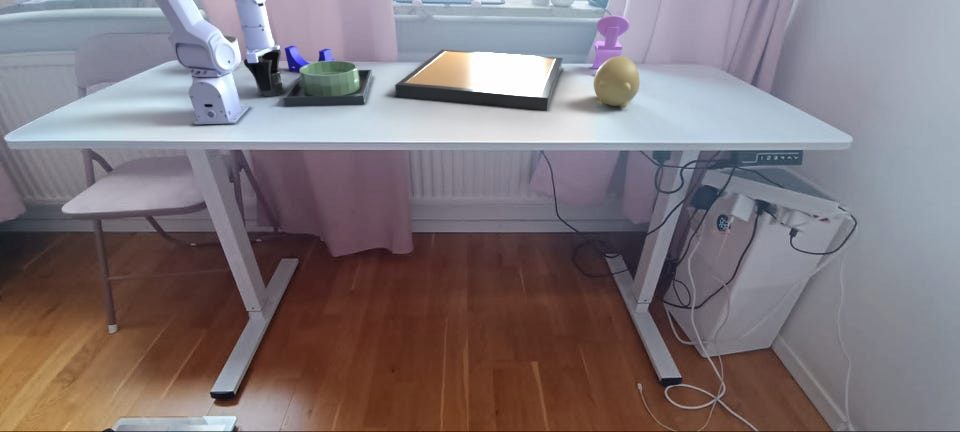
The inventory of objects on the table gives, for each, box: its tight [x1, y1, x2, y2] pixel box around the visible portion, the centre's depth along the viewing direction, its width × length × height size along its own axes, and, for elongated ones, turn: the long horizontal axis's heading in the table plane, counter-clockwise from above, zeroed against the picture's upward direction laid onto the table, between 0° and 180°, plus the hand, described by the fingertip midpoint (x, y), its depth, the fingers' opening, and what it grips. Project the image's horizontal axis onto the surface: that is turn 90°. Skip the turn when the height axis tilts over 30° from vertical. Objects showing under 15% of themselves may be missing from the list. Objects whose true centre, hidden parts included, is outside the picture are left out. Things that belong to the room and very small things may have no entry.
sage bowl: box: [299, 59, 360, 96], centre depth 110 cm, size 13×13×6 cm
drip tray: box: [283, 69, 373, 107], centre depth 111 cm, size 21×17×2 cm
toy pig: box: [593, 55, 641, 109], centre depth 103 cm, size 10×12×11 cm
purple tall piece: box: [591, 14, 630, 76], centre depth 123 cm, size 8×9×15 cm
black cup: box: [254, 69, 285, 97], centre depth 108 cm, size 6×6×5 cm
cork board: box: [394, 49, 563, 112], centre depth 118 cm, size 36×3×35 cm
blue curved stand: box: [284, 45, 336, 73], centre depth 124 cm, size 12×4×6 cm, turn 73°
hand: (270, 86), depth 108 cm, fingers closed on black cup, 5 cm apart
